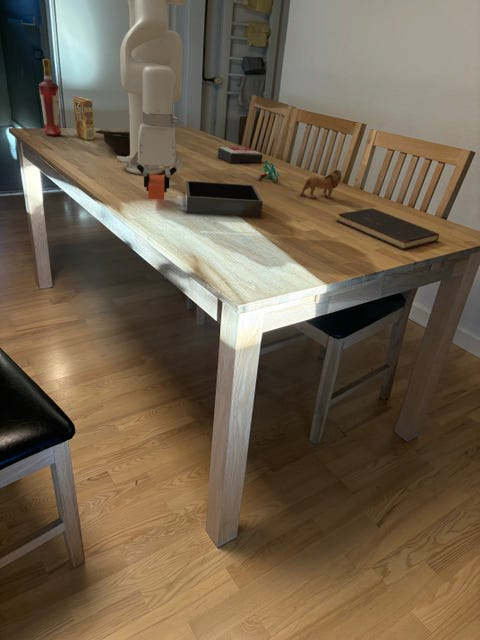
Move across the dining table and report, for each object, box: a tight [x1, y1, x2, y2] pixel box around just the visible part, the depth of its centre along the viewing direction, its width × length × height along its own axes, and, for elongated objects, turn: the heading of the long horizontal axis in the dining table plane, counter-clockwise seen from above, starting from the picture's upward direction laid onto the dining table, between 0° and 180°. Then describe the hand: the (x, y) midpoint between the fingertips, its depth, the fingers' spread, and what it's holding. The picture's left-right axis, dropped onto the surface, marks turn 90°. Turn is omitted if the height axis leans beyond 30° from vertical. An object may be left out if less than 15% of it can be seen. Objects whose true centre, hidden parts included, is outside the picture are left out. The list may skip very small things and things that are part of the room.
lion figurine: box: [299, 168, 343, 200], centre depth 155 cm, size 15×5×9 cm, turn 116°
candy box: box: [72, 96, 96, 141], centre depth 197 cm, size 9×4×15 cm, turn 44°
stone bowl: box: [94, 129, 130, 156], centre depth 186 cm, size 25×25×9 cm
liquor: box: [38, 58, 62, 137], centre depth 192 cm, size 7×7×28 cm
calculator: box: [217, 146, 263, 164], centre depth 193 cm, size 11×4×15 cm
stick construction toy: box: [258, 159, 281, 183], centre depth 170 cm, size 12×7×8 cm
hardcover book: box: [336, 207, 440, 251], centre depth 133 cm, size 16×23×2 cm
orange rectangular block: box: [147, 174, 165, 201], centre depth 131 cm, size 4×12×4 cm, turn 7°
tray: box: [184, 180, 264, 219], centre depth 136 cm, size 21×17×5 cm
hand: (156, 189), depth 132 cm, fingers closed on orange rectangular block, 4 cm apart
